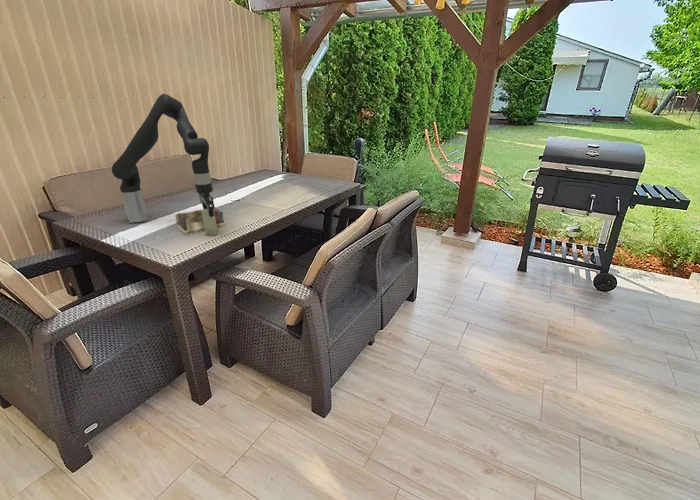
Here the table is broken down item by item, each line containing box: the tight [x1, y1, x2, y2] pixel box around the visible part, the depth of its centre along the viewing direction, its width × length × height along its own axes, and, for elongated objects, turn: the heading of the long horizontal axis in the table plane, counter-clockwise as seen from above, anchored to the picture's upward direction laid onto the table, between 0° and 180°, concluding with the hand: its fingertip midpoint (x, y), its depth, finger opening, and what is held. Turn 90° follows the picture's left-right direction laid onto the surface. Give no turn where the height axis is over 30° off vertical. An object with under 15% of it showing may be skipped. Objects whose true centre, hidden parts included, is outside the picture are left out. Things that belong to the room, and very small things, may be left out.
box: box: [201, 208, 219, 236], centre depth 174 cm, size 5×4×13 cm
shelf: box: [174, 206, 227, 235], centre depth 184 cm, size 21×13×8 cm, turn 128°
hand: (209, 214), depth 173 cm, fingers open, 8 cm apart
